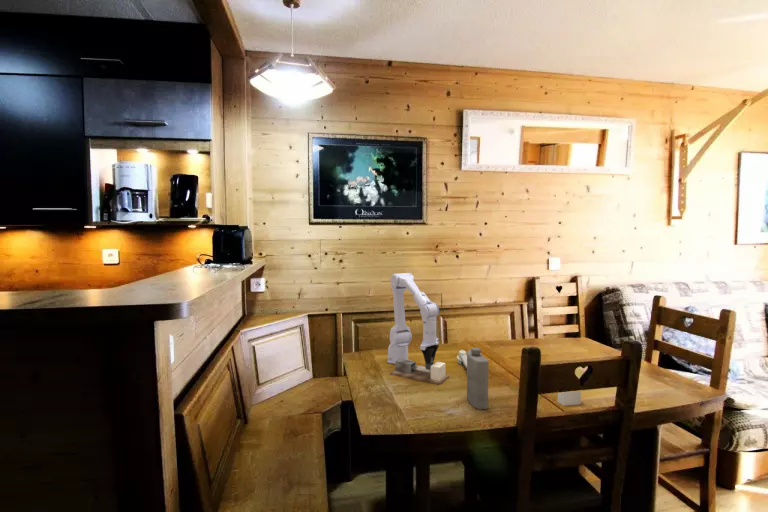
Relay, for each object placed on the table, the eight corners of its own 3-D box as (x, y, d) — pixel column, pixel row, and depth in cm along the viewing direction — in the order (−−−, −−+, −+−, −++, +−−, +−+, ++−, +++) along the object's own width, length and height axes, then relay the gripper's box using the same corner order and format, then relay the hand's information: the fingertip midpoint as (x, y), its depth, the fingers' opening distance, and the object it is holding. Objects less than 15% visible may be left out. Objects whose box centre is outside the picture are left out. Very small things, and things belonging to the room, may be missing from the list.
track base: (390, 374, 176) (390, 362, 175) (401, 367, 184) (400, 356, 184) (440, 384, 163) (440, 372, 163) (449, 377, 172) (449, 365, 171)
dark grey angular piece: (407, 371, 175) (407, 354, 175) (410, 369, 177) (410, 352, 177) (436, 376, 168) (436, 359, 167) (439, 374, 170) (439, 357, 170)
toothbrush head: (470, 371, 168) (455, 347, 193) (469, 385, 170) (455, 359, 194) (482, 371, 169) (466, 347, 193) (481, 385, 170) (465, 359, 194)
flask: (463, 393, 154) (464, 343, 153) (478, 393, 155) (478, 343, 154) (473, 410, 139) (473, 354, 138) (489, 409, 140) (490, 354, 139)
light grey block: (580, 404, 144) (581, 377, 143) (563, 405, 143) (564, 378, 142) (574, 400, 147) (574, 374, 147) (557, 401, 146) (558, 375, 146)
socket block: (430, 379, 167) (430, 366, 167) (437, 374, 173) (437, 361, 173) (439, 380, 165) (439, 367, 165) (445, 375, 171) (445, 363, 171)
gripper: (431, 336, 162) (431, 368, 162) (444, 329, 174) (444, 359, 175) (415, 334, 165) (415, 365, 166) (430, 327, 178) (430, 356, 178)
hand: (429, 362), depth 171 cm, fingers closed on dark grey angular piece, 3 cm apart
